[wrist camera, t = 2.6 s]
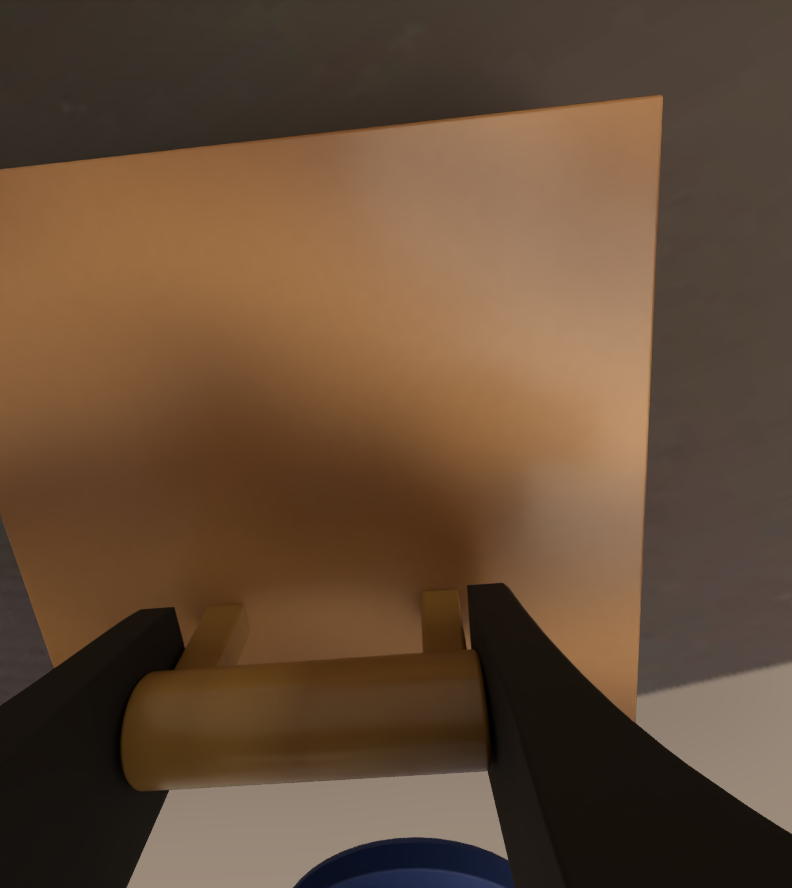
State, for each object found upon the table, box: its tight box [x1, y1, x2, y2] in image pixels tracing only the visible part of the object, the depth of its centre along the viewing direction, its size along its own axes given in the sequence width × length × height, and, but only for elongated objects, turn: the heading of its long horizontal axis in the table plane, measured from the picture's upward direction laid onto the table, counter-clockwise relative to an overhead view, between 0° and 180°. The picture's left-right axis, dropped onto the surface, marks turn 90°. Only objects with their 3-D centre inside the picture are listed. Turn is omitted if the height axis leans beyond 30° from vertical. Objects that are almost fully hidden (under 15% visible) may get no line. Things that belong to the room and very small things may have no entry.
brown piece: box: [0, 95, 663, 791], centre depth 9 cm, size 12×11×4 cm
